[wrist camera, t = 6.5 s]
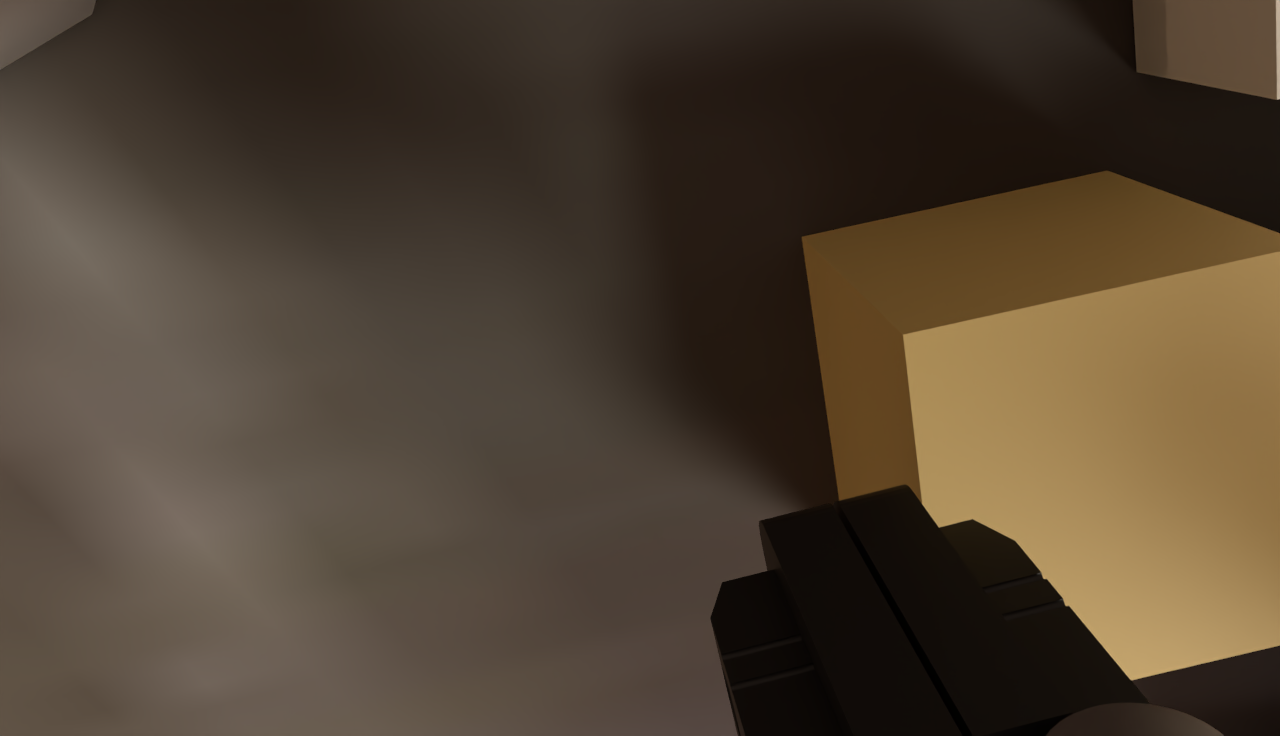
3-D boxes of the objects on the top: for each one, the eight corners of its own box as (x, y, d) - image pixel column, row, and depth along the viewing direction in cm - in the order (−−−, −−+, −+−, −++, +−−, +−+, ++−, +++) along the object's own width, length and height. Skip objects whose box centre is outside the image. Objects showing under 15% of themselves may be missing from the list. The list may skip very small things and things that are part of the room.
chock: (799, 235, 16) (903, 334, 12) (1103, 169, 16) (1311, 244, 12) (844, 543, 18) (946, 723, 13) (1116, 480, 18) (1300, 640, 14)
